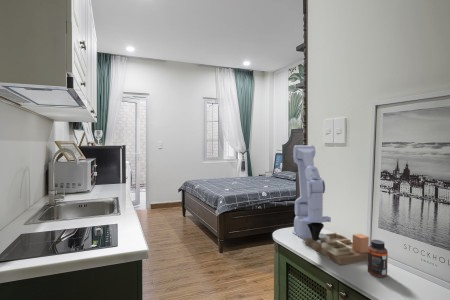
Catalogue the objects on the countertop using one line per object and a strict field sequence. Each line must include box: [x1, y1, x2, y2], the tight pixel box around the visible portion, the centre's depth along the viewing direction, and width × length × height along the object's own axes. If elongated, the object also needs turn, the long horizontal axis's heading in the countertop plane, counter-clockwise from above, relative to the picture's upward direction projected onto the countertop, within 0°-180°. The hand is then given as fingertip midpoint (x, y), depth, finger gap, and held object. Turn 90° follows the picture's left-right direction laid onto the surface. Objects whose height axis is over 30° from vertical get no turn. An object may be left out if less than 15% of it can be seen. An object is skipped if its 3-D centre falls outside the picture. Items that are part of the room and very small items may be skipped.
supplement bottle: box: [367, 239, 389, 278], centre depth 91 cm, size 6×6×11 cm
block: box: [314, 232, 329, 245], centre depth 112 cm, size 4×4×3 cm
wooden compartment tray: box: [305, 232, 368, 266], centre depth 110 cm, size 21×16×4 cm
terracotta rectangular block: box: [352, 233, 370, 253], centre depth 104 cm, size 4×4×6 cm
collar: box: [322, 240, 353, 256], centre depth 104 cm, size 8×8×2 cm
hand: (314, 239), depth 111 cm, fingers closed
